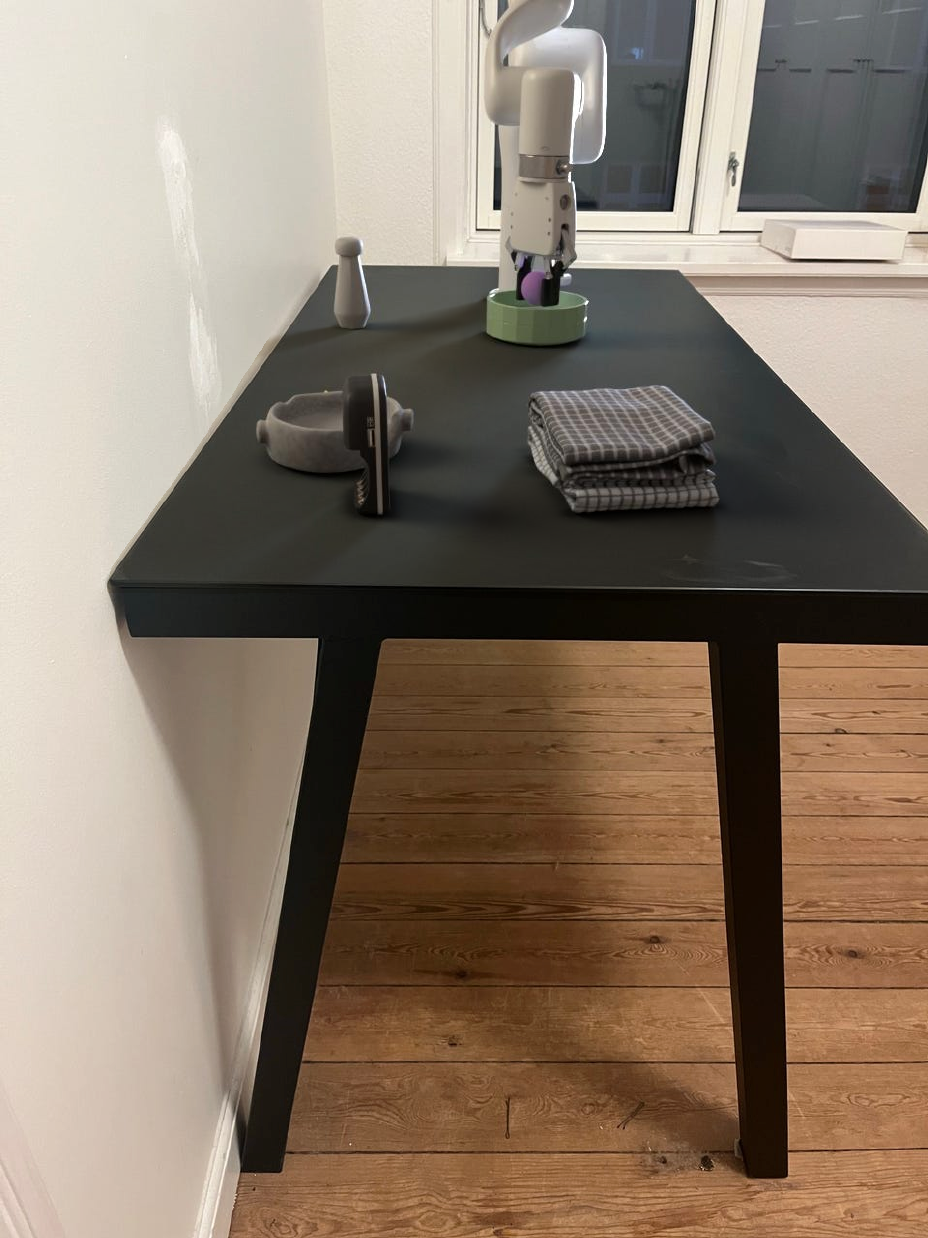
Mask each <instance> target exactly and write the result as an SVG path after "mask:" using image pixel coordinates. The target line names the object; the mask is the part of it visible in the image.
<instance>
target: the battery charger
mask: <svg viewBox="0 0 928 1238" xmlns="http://www.w3.org/2000/svg"><path fill="white" fill-rule="evenodd" d="M386 388H387V387H386V383H385V378H384V375H382V374H377V373H370V374H355V375H350V376H348V377H347V378H346V379H345V380H344V382H343V385H342V391H343V440H344V444H345V445H346V448H347V449H349V450H358V451H360V456H361V457H362V458H363V459H364V460H365V461H366V463H367V464H366V468H364V471H363V473H362V475H361V477H360V478H359V480H358V481H357V482H356V483H355V484H354V485H353V502H354V509H355V511H356V512H357V513H358V514H365V515H379V516H382V515H384V514H388V513H390V511H391V502H390V501H391V500H390V498H391V497H390V496H391V495H390V461H389V460H390V459H389V456H388V419H387V397H388V395H387V390H386Z"/></svg>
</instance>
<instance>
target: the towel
mask: <svg viewBox="0 0 928 1238" xmlns="http://www.w3.org/2000/svg"><path fill="white" fill-rule="evenodd" d="M526 410H527V413H528V414H527V419H528V421H529V424H530V425H529V426H528V427H527V429H526V430H527V437H526V443H527V445H528V447H529V448H530V451H531V454H532V457H533V461H534V464H535V466H536V468H537V470H538V471H539V472H540V473H541V474H542V475H543V476H544V477H546V478H547V479H548V480H549V482H550V483H551V485H552V486H553V487H554V488H555V489H557V490H559V492H560V493H561V495H563V497H564V499H565V501H566V502H567V504H568V506H569V507H570V509H571V511H572V512H573V513H578V514H579V513H583V512H585V513H593V512H606V511H607V510H608V511H616V510H620V511H627V510H640V509H642V510H650V509H652V508H653V509H661V508H667V509H673V508H675V509H683V508H686V507H688V508H693V507H697V508H698V507H701V508H706V507H715V506H716V505H717V504H718V503H719V501H720V497H719V494H718V492H717V489H716V486H715V485H714V483H713V481H715V479H717V475H716V473H715V472H714V471H711V470H710V469H711V468H713V467H714V466H715V465H716V464H717V461H716V457H715V455H714V451H713V449H712V448H711V447H709V445H708V444H707V443H708V442H711V441H713V440H714V439H716V438H717V437H718V432H717V431H716V430H715V429H713V426H712V422H711V421H709V420H707V419H705V417H703V416H702V415H700V414H699V413H698V412H696V411H695V410H694V409H693V408H692V407H691V405H689V404H688V402H686V400H684V399H682V398H681V397H680V396H678V395H677V394H676V393H675V392H673V390H672V389H671V388H670V387H668V386H666V385H656V384H652V385H649V386H637V387H629V388H626V389H624V388H617V389H614V388H611V387H610V388H595V389H584V390H560V391H559V390H551V391H547V390H541V391H535V392H532V393H530V394H529V397H528V400H527V404H526Z"/></svg>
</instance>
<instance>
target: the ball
mask: <svg viewBox="0 0 928 1238" xmlns="http://www.w3.org/2000/svg"><path fill="white" fill-rule="evenodd" d="M543 278H546V277H545V272H544V271H540V270H537V271H533V272H530V273H529V274H528V275H527V276H526V277H525V278H524V280H523V282H522V286H521V291H522V295H523V297H524V299H525V300H526V301H527V302H528V303H530V304H532V305H535V306H540V305H541V287H542V279H543Z"/></svg>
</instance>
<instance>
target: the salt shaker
mask: <svg viewBox="0 0 928 1238" xmlns="http://www.w3.org/2000/svg"><path fill="white" fill-rule="evenodd" d="M334 250H335V254H336V255H338V265H337V275H336V283H335V295H334V304H333V314H334V317H335V318H336V320H337V322H338V324H339V326H340V327H341V328H342V329H350V330H351V329H352V330H355V329H363V328H365V326H366V325H367V321H368V319H369V317H370V315H371V310H372V309H371V304H370V299H369V295H368V291H367V285H366V281H365V275H364V271H363V266H362V261H361V257H360V256H361V255H363V253H364V244H363V241H362V239H361V238H358V237H356V236H342V237H338V238H337V239H336V240H335V242H334Z"/></svg>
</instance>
